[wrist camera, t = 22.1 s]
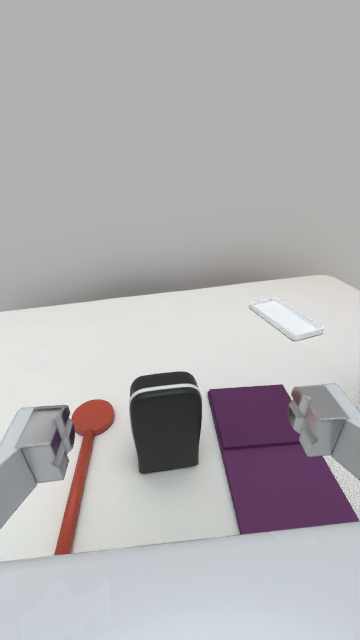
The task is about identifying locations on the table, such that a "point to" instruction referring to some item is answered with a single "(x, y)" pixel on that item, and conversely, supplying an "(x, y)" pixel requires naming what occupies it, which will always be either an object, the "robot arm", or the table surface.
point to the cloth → (272, 464)
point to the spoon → (82, 462)
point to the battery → (165, 420)
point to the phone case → (287, 319)
